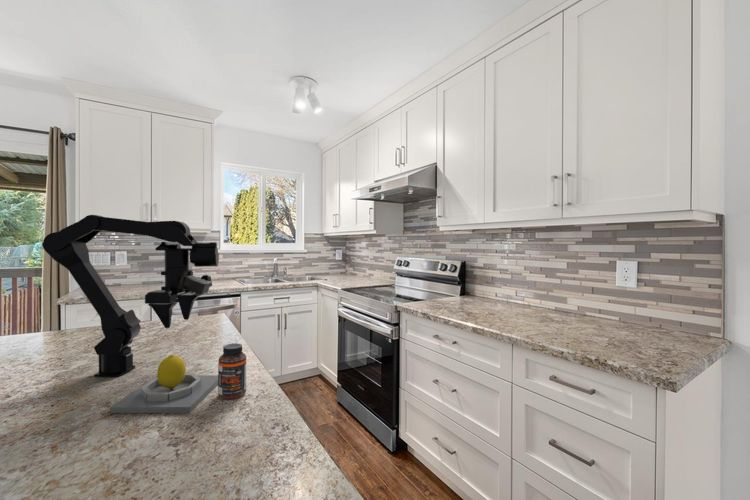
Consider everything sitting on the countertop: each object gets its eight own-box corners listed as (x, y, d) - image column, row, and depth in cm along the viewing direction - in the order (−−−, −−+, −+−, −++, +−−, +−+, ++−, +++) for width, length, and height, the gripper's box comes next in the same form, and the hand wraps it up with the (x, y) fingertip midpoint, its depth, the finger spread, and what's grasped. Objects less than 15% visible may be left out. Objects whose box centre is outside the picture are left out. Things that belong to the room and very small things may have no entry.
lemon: (172, 396, 74) (172, 360, 74) (151, 393, 75) (150, 357, 75) (191, 385, 79) (191, 351, 79) (171, 383, 80) (170, 349, 80)
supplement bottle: (218, 403, 74) (218, 351, 73) (217, 391, 79) (217, 343, 78) (248, 397, 76) (247, 347, 76) (244, 387, 82) (244, 340, 81)
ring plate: (109, 413, 69) (109, 399, 69) (157, 380, 85) (157, 369, 85) (189, 412, 69) (189, 399, 69) (222, 380, 85) (222, 369, 85)
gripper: (188, 270, 84) (189, 333, 84) (221, 264, 102) (221, 316, 103) (142, 270, 83) (143, 333, 84) (183, 264, 102) (184, 315, 103)
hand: (177, 323), depth 93 cm, fingers open, 9 cm apart
